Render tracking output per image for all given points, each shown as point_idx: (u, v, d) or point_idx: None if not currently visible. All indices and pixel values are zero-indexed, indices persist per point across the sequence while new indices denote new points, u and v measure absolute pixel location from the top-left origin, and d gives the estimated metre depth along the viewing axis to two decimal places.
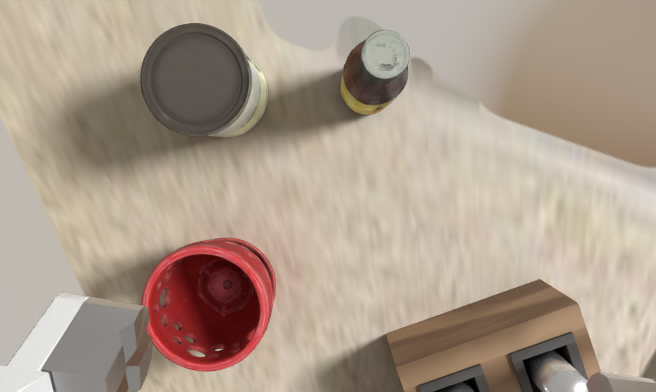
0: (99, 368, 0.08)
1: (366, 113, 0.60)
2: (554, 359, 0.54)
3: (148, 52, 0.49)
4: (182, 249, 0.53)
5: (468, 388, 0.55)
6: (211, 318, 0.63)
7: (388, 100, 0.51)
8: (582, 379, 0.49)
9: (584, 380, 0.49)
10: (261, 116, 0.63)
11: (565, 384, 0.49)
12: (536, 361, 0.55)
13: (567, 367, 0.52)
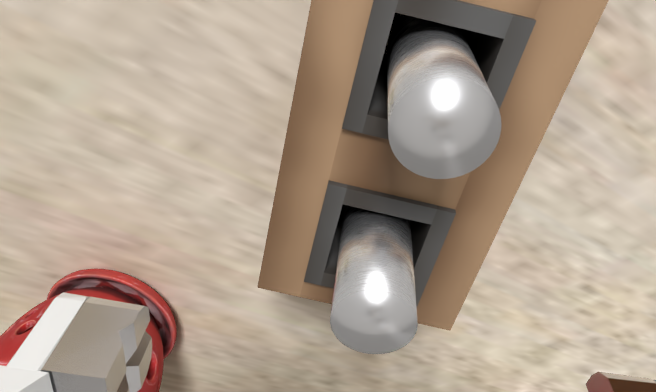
0: (99, 368, 0.08)
1: None
2: (393, 67, 0.23)
3: None
4: None
5: (356, 223, 0.28)
6: None
7: None
8: (409, 91, 0.18)
9: (415, 88, 0.18)
10: None
11: (393, 133, 0.19)
12: None
13: (400, 73, 0.21)
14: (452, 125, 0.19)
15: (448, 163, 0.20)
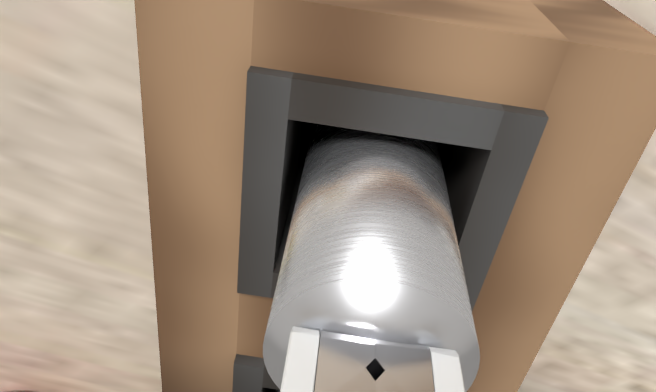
0: None
1: None
2: (297, 196, 0.13)
3: None
4: None
5: None
6: None
7: None
8: (288, 305, 0.09)
9: (300, 299, 0.09)
10: None
11: (276, 367, 0.10)
12: None
13: (295, 229, 0.11)
14: None
15: None
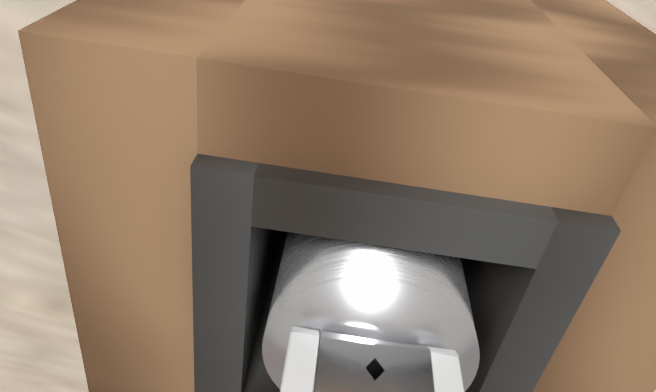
0: None
1: None
2: None
3: None
4: None
5: None
6: None
7: None
8: (287, 304, 0.09)
9: (299, 298, 0.09)
10: None
11: (275, 366, 0.10)
12: None
13: None
14: None
15: None
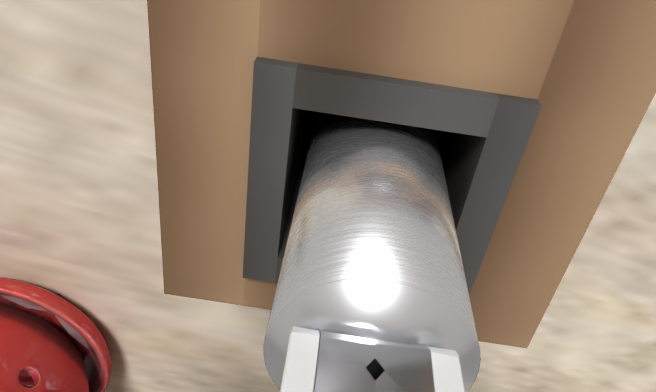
0: None
1: None
2: None
3: None
4: None
5: (327, 144, 0.14)
6: None
7: None
8: None
9: None
10: None
11: None
12: None
13: None
14: None
15: None
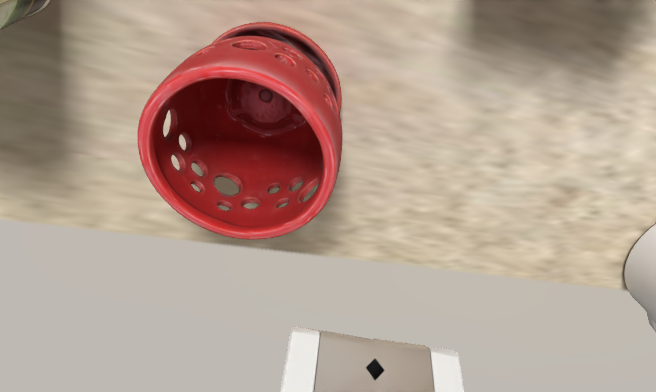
0: None
1: None
2: None
3: None
4: (138, 143, 0.34)
5: None
6: (299, 139, 0.43)
7: None
8: None
9: None
10: None
11: None
12: None
13: None
14: None
15: None
